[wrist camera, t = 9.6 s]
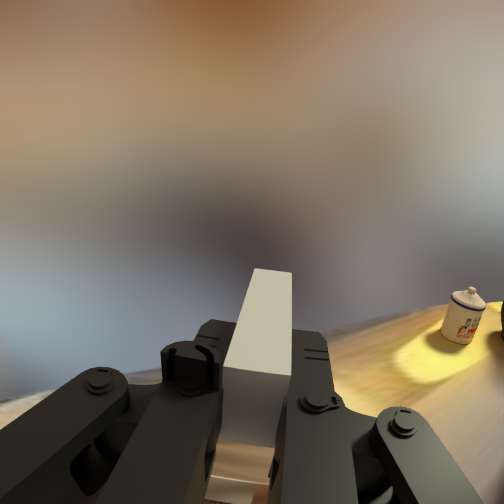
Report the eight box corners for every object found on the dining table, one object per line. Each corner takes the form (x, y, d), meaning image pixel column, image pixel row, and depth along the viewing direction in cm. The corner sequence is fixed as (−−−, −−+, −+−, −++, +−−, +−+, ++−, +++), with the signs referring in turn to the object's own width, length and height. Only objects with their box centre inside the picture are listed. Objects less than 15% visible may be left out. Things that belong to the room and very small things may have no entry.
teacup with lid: (455, 347, 52) (474, 297, 49) (432, 327, 61) (447, 280, 58) (485, 340, 55) (502, 295, 51) (463, 323, 63) (477, 280, 60)
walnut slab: (304, 487, 20) (302, 377, 35) (185, 470, 21) (220, 366, 36) (292, 510, 21) (294, 406, 37) (187, 494, 22) (218, 395, 37)
